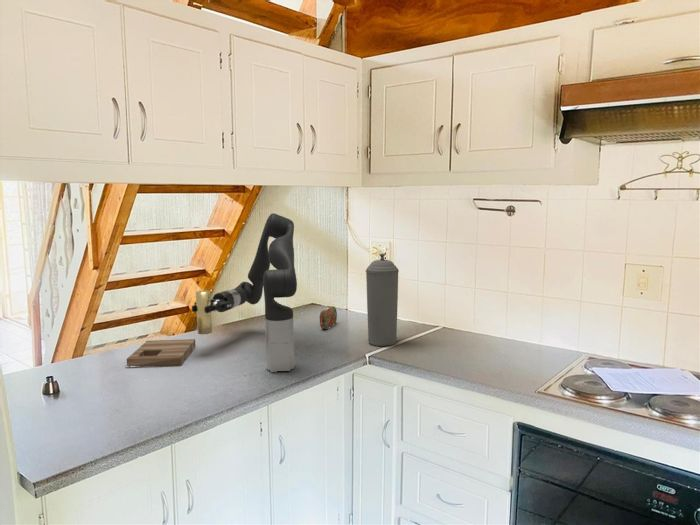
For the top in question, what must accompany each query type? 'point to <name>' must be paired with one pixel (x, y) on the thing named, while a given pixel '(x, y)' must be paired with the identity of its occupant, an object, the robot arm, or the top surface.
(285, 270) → the robot arm
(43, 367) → the top surface
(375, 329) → the canister
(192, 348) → the jig
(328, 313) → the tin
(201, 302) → the brass cylinder
